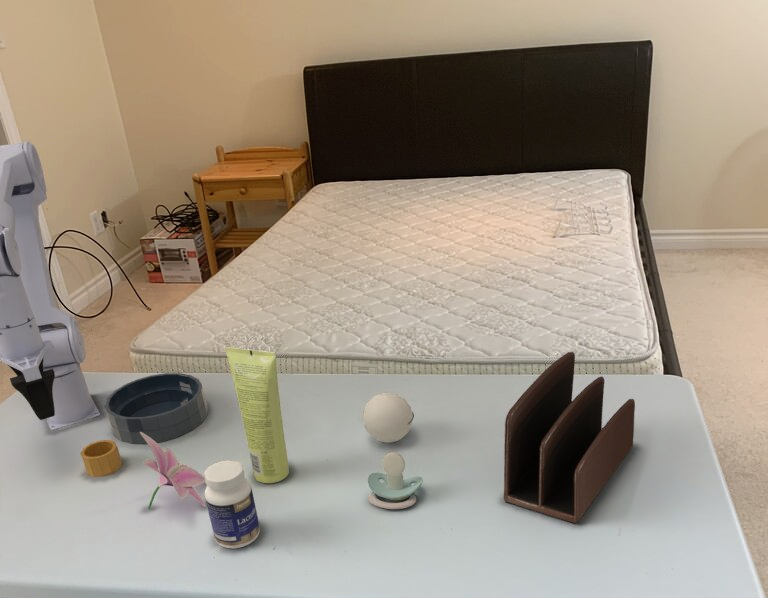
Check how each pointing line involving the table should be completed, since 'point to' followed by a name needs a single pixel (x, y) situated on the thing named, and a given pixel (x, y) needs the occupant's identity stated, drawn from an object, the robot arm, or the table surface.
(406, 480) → the pacifier
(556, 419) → the letter holder
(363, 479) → the table surface
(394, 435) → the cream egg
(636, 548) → the table surface
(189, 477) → the lily
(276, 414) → the tube
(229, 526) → the pill bottle
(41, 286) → the robot arm
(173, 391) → the bowl
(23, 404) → the table surface
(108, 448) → the ring
